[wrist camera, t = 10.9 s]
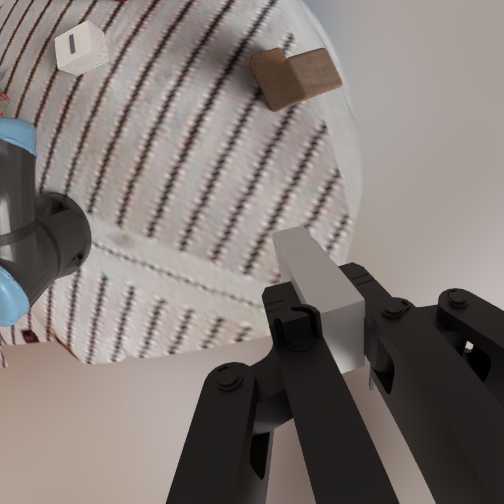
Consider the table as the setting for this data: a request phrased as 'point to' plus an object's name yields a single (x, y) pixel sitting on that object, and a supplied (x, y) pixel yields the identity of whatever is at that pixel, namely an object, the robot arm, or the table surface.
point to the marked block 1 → (81, 49)
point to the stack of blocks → (3, 102)
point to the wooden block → (293, 76)
